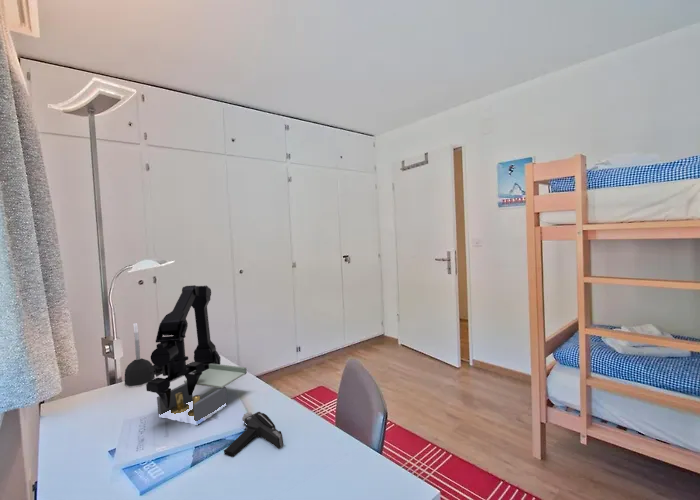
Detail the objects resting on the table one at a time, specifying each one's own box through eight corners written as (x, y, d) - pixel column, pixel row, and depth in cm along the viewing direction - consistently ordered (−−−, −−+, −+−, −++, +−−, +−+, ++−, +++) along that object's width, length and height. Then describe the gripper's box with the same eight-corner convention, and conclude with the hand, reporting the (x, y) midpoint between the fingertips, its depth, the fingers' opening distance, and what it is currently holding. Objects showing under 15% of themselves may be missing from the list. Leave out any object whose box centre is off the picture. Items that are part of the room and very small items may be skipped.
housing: (190, 400, 127) (188, 381, 127) (227, 407, 121) (225, 386, 121) (158, 419, 115) (156, 397, 115) (197, 427, 109) (196, 404, 109)
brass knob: (197, 410, 118) (196, 391, 118) (210, 413, 116) (209, 393, 116) (184, 419, 113) (182, 399, 113) (197, 421, 111) (195, 401, 111)
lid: (211, 368, 137) (210, 363, 137) (246, 373, 131) (246, 367, 131) (184, 382, 125) (183, 376, 125) (221, 388, 119) (221, 381, 119)
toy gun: (235, 460, 88) (287, 430, 97) (207, 425, 104) (254, 402, 113) (238, 477, 89) (289, 445, 98) (209, 440, 104) (256, 415, 114)
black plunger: (124, 381, 149) (119, 323, 148) (153, 374, 155) (149, 318, 154) (124, 390, 140) (119, 328, 138) (156, 382, 146) (151, 323, 144)
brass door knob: (181, 407, 121) (179, 389, 121) (193, 409, 119) (191, 391, 119) (167, 415, 116) (165, 396, 116) (179, 418, 114) (178, 398, 114)
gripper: (180, 344, 128) (184, 386, 129) (132, 363, 111) (136, 411, 112) (204, 347, 124) (207, 390, 125) (157, 366, 107) (161, 416, 108)
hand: (179, 401), depth 117 cm, fingers open, 9 cm apart
